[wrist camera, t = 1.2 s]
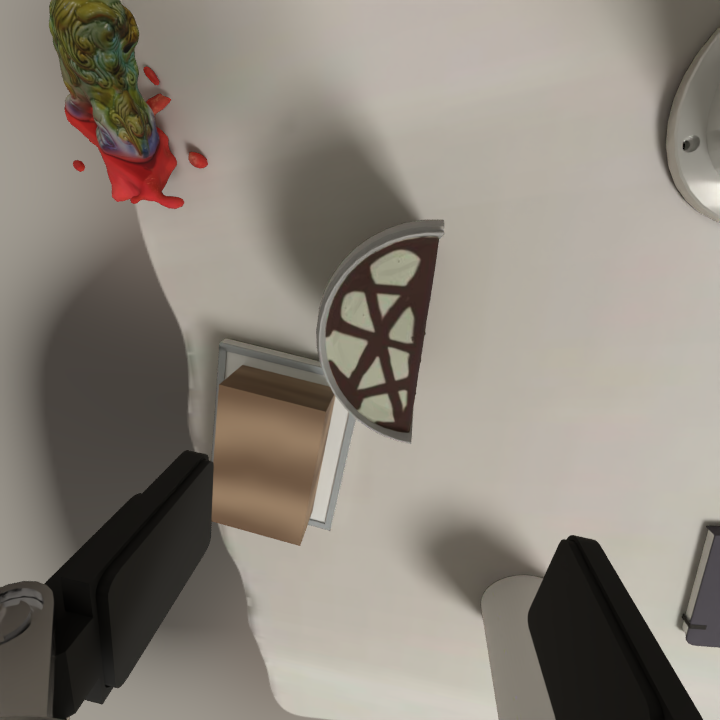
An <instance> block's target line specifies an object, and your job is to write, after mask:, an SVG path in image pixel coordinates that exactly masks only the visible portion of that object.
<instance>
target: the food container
mask: <svg viewBox="0 0 720 720" xmlns="http://www.w3.org/2000/svg"><path fill="white" fill-rule="evenodd" d="M443 235H444V220H420V221H414V222H407V223H403V224H400V225H397V226H394V227H391V228H388V229H386V230H384V231H382V232H380V233H378V234H376V235H374V236H372V237H370V238H369V239H367V240H366V241H365V242H363V243H362V244H360V245H359V246H358V247H356V248H355V249H354V250H353V251H352V252H351V253H350V254H349V255H348V256H347V257H346V258H345V259H344V260H343V261H342V262H341V264H340V265H339V267H338V268H337V270H336V271H335V272H334V274H333V275H332V277H331V279H330V281H329V283H328V285H327V287H326V289H325V291H324V294H323V298H322V301H321V304H320V308H319V315H318V323H317V331H316V334H317V351H318V356H319V361H320V365H321V368H322V370H323V373H324V376H325V379H326V380H327V382H328V384H329V386H330V388H331V390H332V391H333V393H334V395H335V396H336V397H337V399H338V400H339V401H340V403H341V404H342V405H343V407H344V408H345V409H346V410H347V411H348V412H349V413H350V414H351V415H352V416H353V417H354V418H355V419H357V420H358V421H359V422H361V423H362V424H364V425H365V426H366V427H368V428H369V429H371V430H373V431H375V432H377V433H379V434H381V435H383V436H385V437H388V438H391V439H393V440H396V441H400V442H404V443H409V444H411V438H412V420H413V405H414V399H415V395H416V387H417V380H418V373H419V366H420V362H421V354H422V348H423V341H424V335H425V327H426V320H427V315H428V309H429V303H430V297H431V290H432V284H433V277H434V271H435V264H436V257H437V250H438V243H439V239H440V238H441V237H442V236H443Z"/></svg>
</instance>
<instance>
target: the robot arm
mask: <svg viewBox="0 0 720 720" xmlns="http://www.w3.org/2000/svg"><path fill="white" fill-rule="evenodd" d="M683 142H684V143H685V148H684V150H683V148H682V146H683ZM666 151H667V159H668V166H669V169H670V172H671V175H672V178H673V180H674V183H675V185H676V187H677V188H678V190H679V191H680V193H681V194H682V196H683V197H684V199H685V200H686V201H687V202H688V203H689V204H690V205H691V206H692V207H694V208H695V209H696V210H697V211H698V212H699V213H701V214H703V215H705V216H707V217H709V218H710V219H712V220H714V221H716V222H720V27H719V28H718V29H717V30H716V31H715V32H714V34H713V35H712V36H711V37H710V38H709V40H708V41H707V42H706V43H705V44H704V46H703V47H702V48H701V49H700V50H699V52H698V54H697V55H696V57H695V58H694V60H693V62H692V63H691V65H690V67H689V68H688V70H687V71H686V73H685V75H684V77H683V79H682V81H681V84H680V86H679V88H678V91H677V93H676V95H675V98H674V100H673V104H672V108H671V112H670V116H669V120H668V124H667V137H666ZM213 473H214V463H213V462H212V461H209V458H208V455H206V454H202V453H197V452H193V451H188V450H186V451H184V452H183V453H182V454H181V455H180V456H179V457H178V458H177V459H176V460H175V461H174V462H173V463H172V464H171V465H170V466H169V467H168V468H167V469H166V470H165V471H164V472H163V473H162V474H161V475H160V476H159V477H158V478H157V479H156V480H155V481H154V482H153V483H152V484H151V485H150V486H149V487H148V488H147V489H146V490H145V491H144V492H143V493H142V494H141V493H139V494H137V495H135V496H133V497H132V498H131V499H130V500H129V501H128V502H127V503H126V504H125V505H124V506H123V507H122V508H121V509H119V511H118V512H116V513H115V514H114V515H113V517H111V519H110V520H108V521H107V522H106V523H105V524H104V525H103V526H102V528H100V529H99V530H98V531H97V532H96V533H95V534H94V535H93V536H92V537H91V538H90V539H89V540H88V541H87V542H86V543H85V544H84V545H83V546H82V547H81V548H80V549H79V550H78V551H77V552H76V553H75V554H74V555H73V556H72V557H71V558H70V559H69V560H68V561H67V562H66V563H65V564H64V565H63V566H62V567H61V568H60V569H59V570H58V571H57V572H56V573H55V574H54V575H53V576H52V577H51V578H50V579H49V580H48V581H47V582H46V583H45V584H42V583H39V582H36V581H22V582H17V583H12V584H8V585H5V586H3V587H0V720H70V716H71V715H73V714H75V713H76V712H77V710H78V709H79V707H80V706H81V704H82V703H83V701H84V700H87V701H91V702H95V703H99V704H103V703H104V701H105V699H106V698H107V696H108V695H109V693H110V692H111V690H112V689H113V687H115V688H119V687H121V686H122V684H124V682H125V681H126V679H127V678H128V676H129V674H130V673H131V671H132V670H133V668H134V667H135V665H136V663H137V662H138V660H139V658H140V657H141V655H142V654H143V652H144V650H145V649H146V647H147V646H148V644H149V642H150V641H151V639H152V637H153V636H154V634H155V633H156V631H157V629H158V628H159V626H160V624H161V623H162V621H163V620H164V618H165V617H166V615H167V613H168V611H169V610H170V608H171V607H172V605H173V604H174V602H175V600H176V599H177V597H178V596H179V594H180V592H181V591H182V589H183V587H184V586H185V584H186V582H187V581H188V579H189V578H190V576H191V575H192V573H193V571H194V570H195V568H196V566H197V565H198V563H199V562H200V560H201V558H202V557H203V555H204V554H205V552H206V550H207V548H208V546H209V543H210V538H211V522H212V497H213ZM528 627H529V631H530V634H531V638H532V641H533V644H534V648H535V651H536V655H537V658H538V661H539V665H540V668H541V672H542V675H543V678H544V682H545V685H546V689H547V692H548V695H549V699H550V702H551V706H552V709H553V712H554V716H555V719H556V720H703V719H702V717H701V715H700V713H699V712H698V710H697V708H696V707H695V705H694V703H693V702H692V700H691V698H690V697H689V695H688V693H687V691H686V690H685V688H684V686H683V685H682V683H681V681H680V680H679V678H678V676H677V675H676V673H675V671H674V669H673V668H672V666H671V664H670V663H669V661H668V659H667V658H666V656H665V654H664V653H663V651H662V649H661V647H660V646H659V644H658V642H657V641H656V639H655V637H654V636H653V634H652V632H651V631H650V629H649V627H648V625H647V624H646V622H645V620H644V619H643V617H642V615H641V614H640V612H639V610H638V609H637V607H636V605H635V603H634V602H633V600H632V598H631V597H630V595H629V593H628V592H627V590H626V588H625V587H624V585H623V583H622V581H621V580H620V578H619V576H618V575H617V573H616V571H615V570H614V568H613V566H612V565H611V563H610V561H609V559H608V558H607V556H606V554H605V553H604V551H603V549H602V548H601V546H600V544H599V543H598V542H597V541H595V540H592V539H588V538H583V537H579V536H574V535H571V536H569V537H568V538H567V540H565V539H563V540H561V542H560V543H559V545H558V548H557V550H556V552H555V554H554V556H553V558H552V561H551V563H550V565H549V567H548V569H547V572H546V574H545V576H544V578H543V580H542V582H541V585H540V587H539V589H538V591H537V593H536V596H535V598H534V600H533V602H532V604H531V606H530V609H529V611H528Z"/></svg>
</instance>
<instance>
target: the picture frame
mask: <svg viewBox="0 0 720 720" xmlns="http://www.w3.org/2000/svg"><path fill="white" fill-rule="evenodd" d="M242 365H246V366H250V367H254V368H258V369H262V370H266V371H270V372H274V373H278V374H282V375H286V376H290V377H294V378H298V379H302V380H306V381H310V382H314V383H318V384H322V385H325V386H329V384H328V382H327V380H326V379H325V376H324V373H323V370H322V368H321V365H320V361H316V360H312V359H308V358H304V357H300V356H296V355H292V354H288V353H284V352H280V351H276V350H272V349H268V348H264V347H260V346H255V345H251V344H247V343H243V342H239V341H235V340H231V339H227V338H226V339H225V340H223V341H221V342H220V345H219V359H218V373H217V388H216V402H215V416H214V430H213V445H212V459H211V461H212V462H213V460H214V446H215V432H216V419H217V405H218V391H219V384H220V383H221V382H223V381H224V380H225V379H226V378H227V377H229V376H230V375H231V374H232V373H233V372H234V371H236V370H237V369H238V368H239V367H240V366H242ZM329 387H330V386H329ZM355 422H356V419H355V418H354V417H353V416H352V415H351V414H350V413H349V412H348V411H347V410H346V409H345V408H344V407H343V405H342V404H341V403H340V401H339V400H338V399H337V397H335V402H334V407H333V412H332V417H331V422H330V427H329V432H328V437H327V441H326V446H325V451H324V456H323V461H322V466H321V471H320V476H319V481H318V486H317V491H316V496H315V501H314V506H313V511H312V514H311V517H310V520H309V522H308V525H311V526H315V527H318V528H322V529H325V530H329V531H330V529H331V526H332V522H333V518H334V513H335V509H336V505H337V500H338V496H339V492H340V487H341V483H342V479H343V474H344V470H345V466H346V461H347V457H348V452H349V448H350V444H351V439H352V435H353V431H354V426H355Z"/></svg>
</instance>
